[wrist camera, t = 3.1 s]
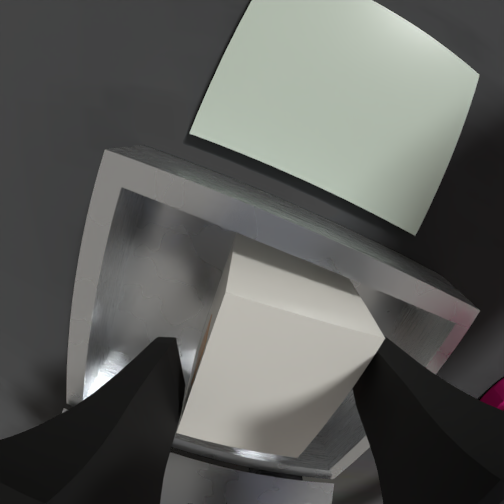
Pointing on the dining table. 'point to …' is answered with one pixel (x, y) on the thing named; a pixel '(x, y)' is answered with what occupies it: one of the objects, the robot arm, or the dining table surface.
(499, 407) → the pepper mill
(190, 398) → the block
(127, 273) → the case
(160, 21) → the dining table surface
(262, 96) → the pad
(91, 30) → the dining table surface
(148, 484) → the robot arm
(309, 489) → the lid
